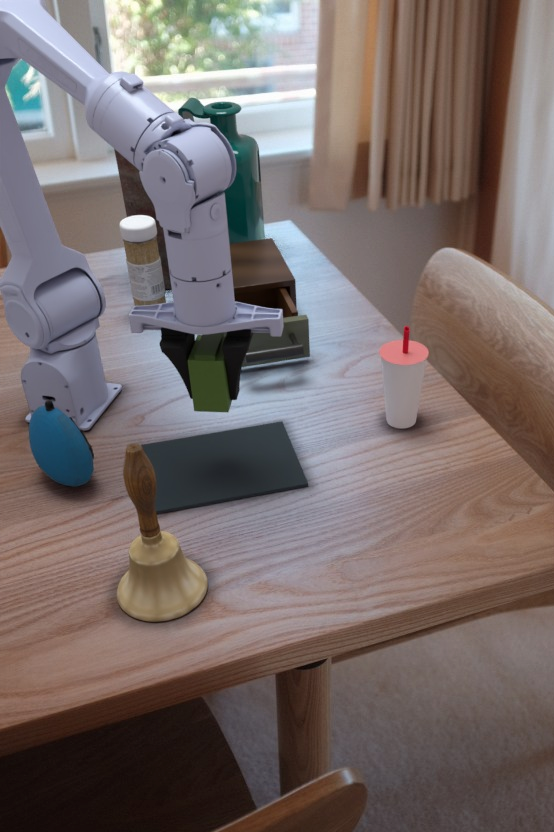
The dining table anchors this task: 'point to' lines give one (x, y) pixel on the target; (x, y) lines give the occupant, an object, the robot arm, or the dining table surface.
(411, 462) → the dining table surface
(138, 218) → the sprinkles bottle
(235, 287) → the cabinet
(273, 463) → the mat
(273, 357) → the drawer
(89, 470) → the ornament
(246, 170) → the pitcher
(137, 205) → the candle
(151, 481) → the hand bell
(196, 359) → the green stepped block
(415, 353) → the cup
